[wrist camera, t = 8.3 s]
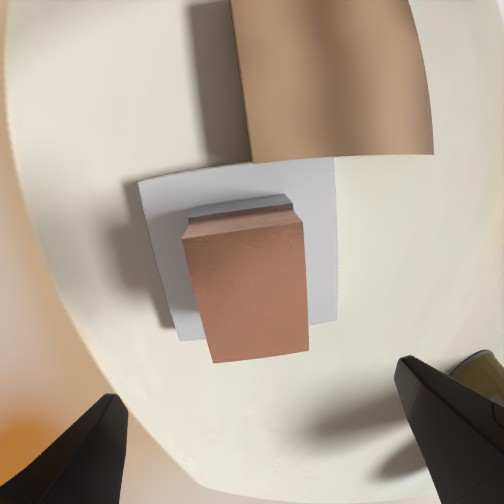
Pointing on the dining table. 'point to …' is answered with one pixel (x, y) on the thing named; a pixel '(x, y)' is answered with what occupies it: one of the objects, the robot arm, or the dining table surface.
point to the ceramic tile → (235, 188)
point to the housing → (249, 277)
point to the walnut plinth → (331, 78)
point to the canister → (482, 375)
